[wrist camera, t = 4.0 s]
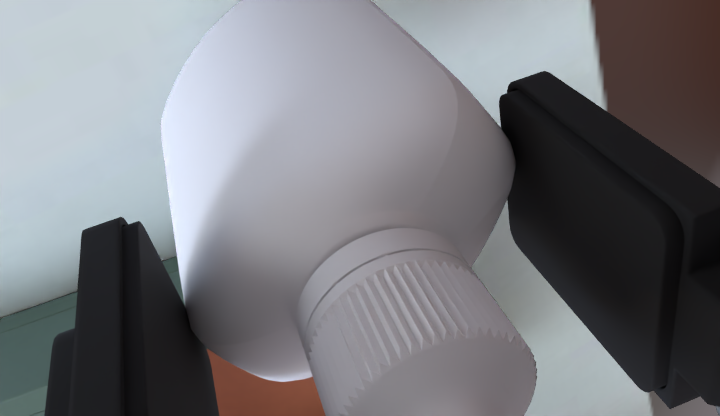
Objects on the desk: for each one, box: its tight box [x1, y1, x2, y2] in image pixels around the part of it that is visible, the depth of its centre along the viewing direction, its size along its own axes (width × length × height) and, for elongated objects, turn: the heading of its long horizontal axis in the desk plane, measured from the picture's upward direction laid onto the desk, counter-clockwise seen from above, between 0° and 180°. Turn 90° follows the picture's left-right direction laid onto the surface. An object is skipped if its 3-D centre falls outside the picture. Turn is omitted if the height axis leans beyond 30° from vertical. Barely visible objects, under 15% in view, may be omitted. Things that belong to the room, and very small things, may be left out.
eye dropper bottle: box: [161, 0, 537, 416], centre depth 11 cm, size 4×6×12 cm
